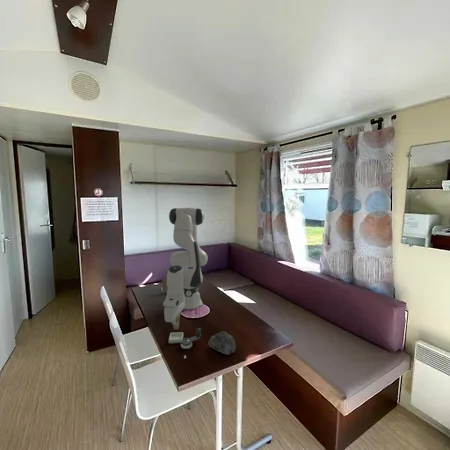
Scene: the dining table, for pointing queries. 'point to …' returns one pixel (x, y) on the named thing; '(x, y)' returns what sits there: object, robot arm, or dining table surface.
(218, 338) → the mineral rock
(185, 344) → the crank
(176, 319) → the stop pin
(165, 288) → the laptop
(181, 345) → the crank base
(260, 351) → the dining table surface
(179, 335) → the dish
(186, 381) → the dining table surface
